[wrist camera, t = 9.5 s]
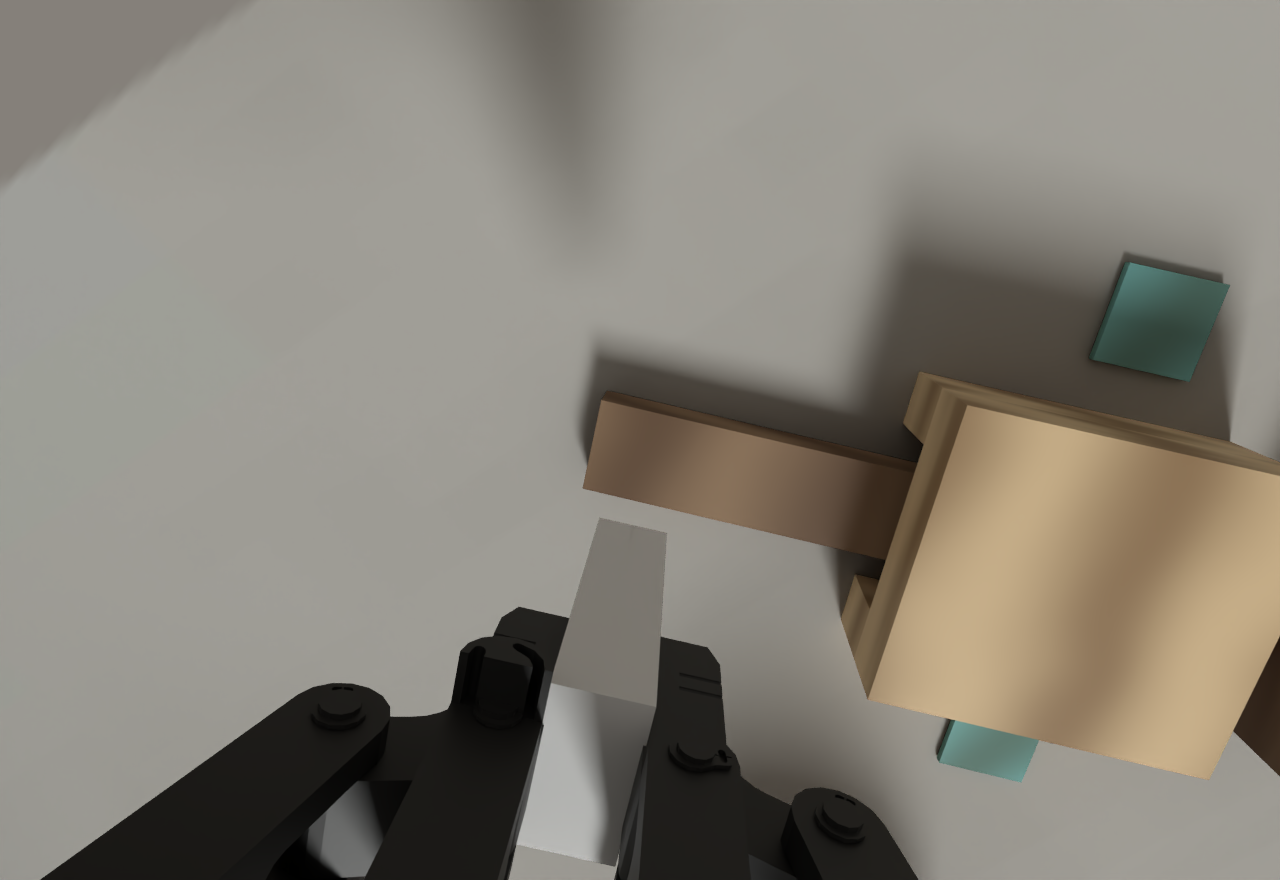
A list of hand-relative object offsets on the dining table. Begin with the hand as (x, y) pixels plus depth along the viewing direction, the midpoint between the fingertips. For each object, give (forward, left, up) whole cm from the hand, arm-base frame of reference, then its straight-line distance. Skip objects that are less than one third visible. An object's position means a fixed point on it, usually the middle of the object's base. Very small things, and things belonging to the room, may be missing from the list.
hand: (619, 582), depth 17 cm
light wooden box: (+13, 0, -10) cm, 16 cm away
